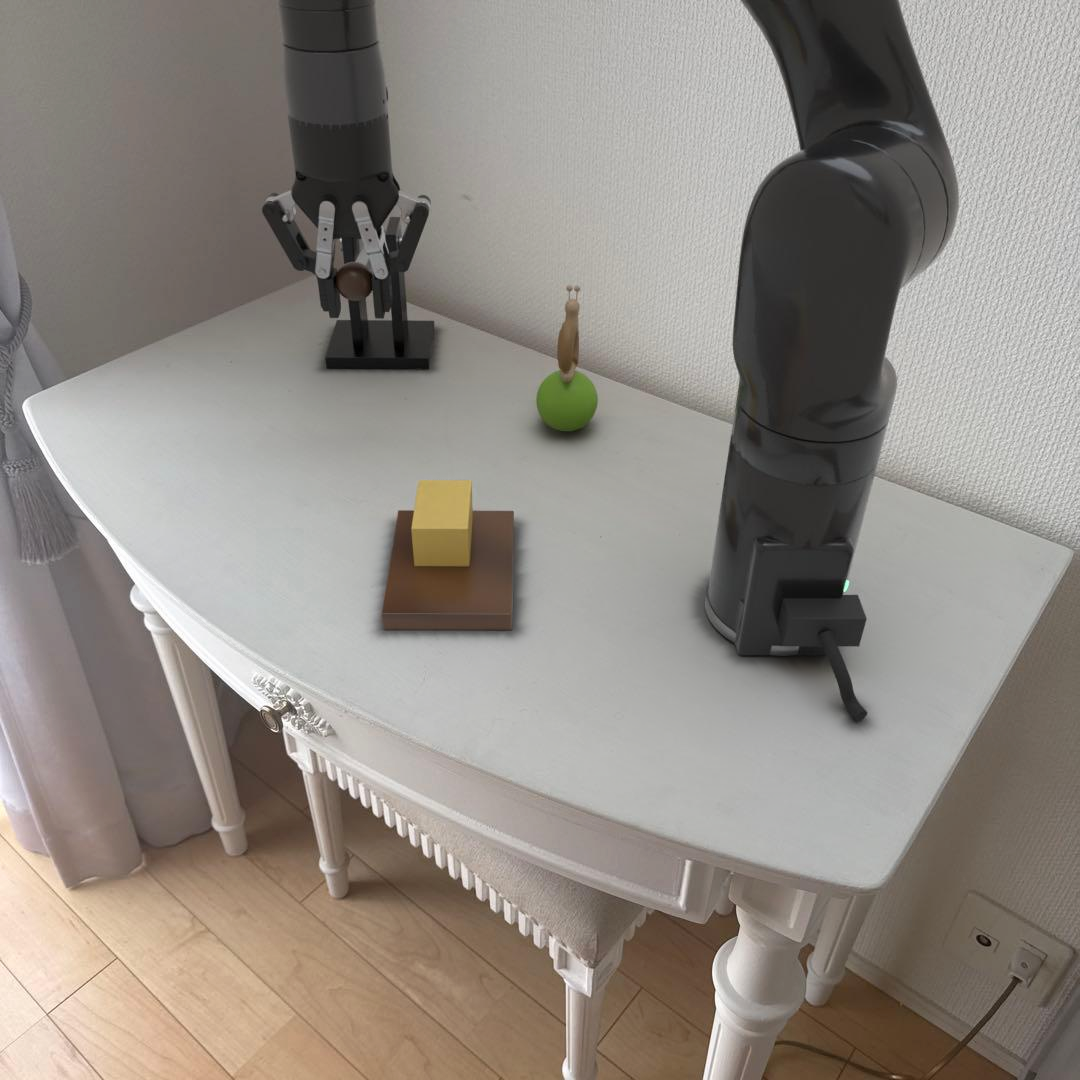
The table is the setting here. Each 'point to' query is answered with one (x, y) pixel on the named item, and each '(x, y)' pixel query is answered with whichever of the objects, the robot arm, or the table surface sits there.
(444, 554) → the butter
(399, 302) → the slicer bracket
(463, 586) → the board
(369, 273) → the brown knob lever
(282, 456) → the table surface
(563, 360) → the snail figurine
